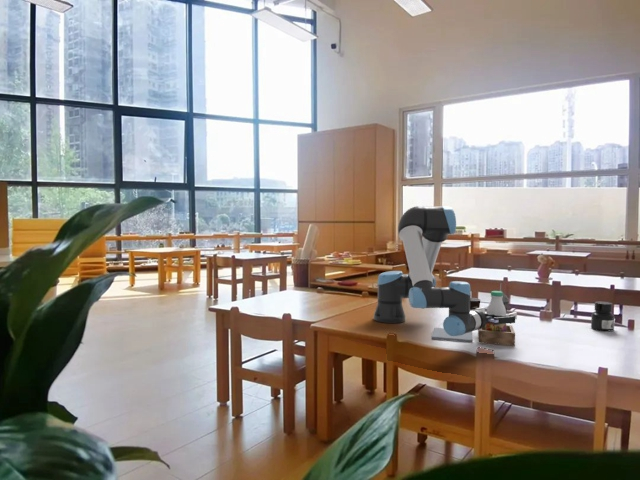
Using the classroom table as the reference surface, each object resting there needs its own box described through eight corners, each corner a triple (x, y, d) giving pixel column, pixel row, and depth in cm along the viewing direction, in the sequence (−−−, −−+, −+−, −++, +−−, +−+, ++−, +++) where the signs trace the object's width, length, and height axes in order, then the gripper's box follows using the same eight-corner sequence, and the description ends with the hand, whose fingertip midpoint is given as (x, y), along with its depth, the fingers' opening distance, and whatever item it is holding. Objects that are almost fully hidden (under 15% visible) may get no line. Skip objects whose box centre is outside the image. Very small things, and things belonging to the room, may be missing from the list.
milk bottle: (482, 337, 196) (483, 290, 194) (500, 337, 196) (501, 289, 195) (490, 342, 188) (492, 293, 187) (509, 342, 189) (510, 293, 187)
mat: (431, 339, 193) (431, 336, 193) (434, 329, 208) (434, 327, 208) (472, 342, 188) (472, 340, 188) (472, 332, 203) (472, 330, 203)
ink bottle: (607, 332, 205) (608, 305, 204) (586, 328, 212) (587, 302, 212) (618, 329, 210) (619, 303, 210) (597, 325, 218) (598, 300, 217)
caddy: (478, 342, 188) (478, 330, 187) (477, 334, 201) (478, 323, 200) (514, 345, 184) (515, 333, 183) (511, 337, 196) (512, 325, 196)
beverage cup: (507, 325, 217) (508, 282, 216) (508, 329, 210) (509, 284, 209) (490, 324, 220) (492, 281, 218) (491, 327, 213) (492, 283, 212)
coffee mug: (477, 317, 232) (478, 297, 232) (481, 322, 224) (482, 301, 223) (453, 317, 234) (454, 297, 233) (456, 321, 225) (457, 300, 224)
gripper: (444, 324, 188) (471, 316, 203) (504, 336, 170) (529, 327, 184) (444, 305, 188) (472, 299, 202) (504, 316, 169) (530, 308, 184)
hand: (499, 312), depth 193 cm, fingers open, 13 cm apart
